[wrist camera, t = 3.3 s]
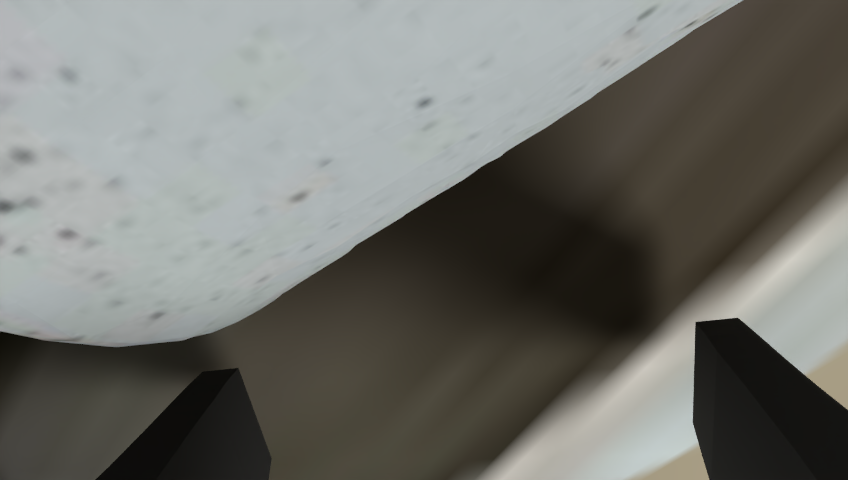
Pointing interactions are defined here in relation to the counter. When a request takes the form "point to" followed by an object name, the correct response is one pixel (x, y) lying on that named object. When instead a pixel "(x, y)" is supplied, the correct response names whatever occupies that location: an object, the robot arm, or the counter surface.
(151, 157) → the ceramic mug
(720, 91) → the counter surface
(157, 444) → the robot arm
